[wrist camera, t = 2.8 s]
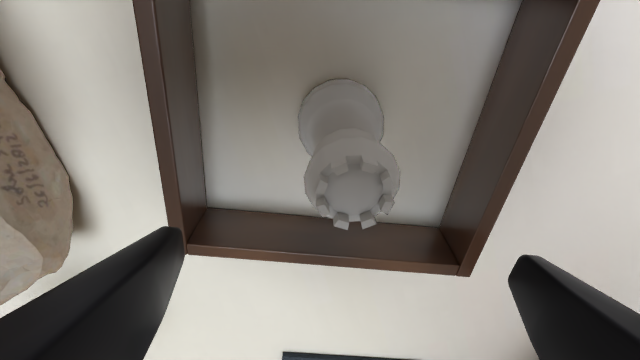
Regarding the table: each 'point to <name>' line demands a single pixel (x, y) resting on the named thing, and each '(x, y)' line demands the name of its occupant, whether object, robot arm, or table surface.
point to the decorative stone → (29, 200)
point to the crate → (356, 243)
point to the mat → (323, 357)
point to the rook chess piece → (347, 154)
